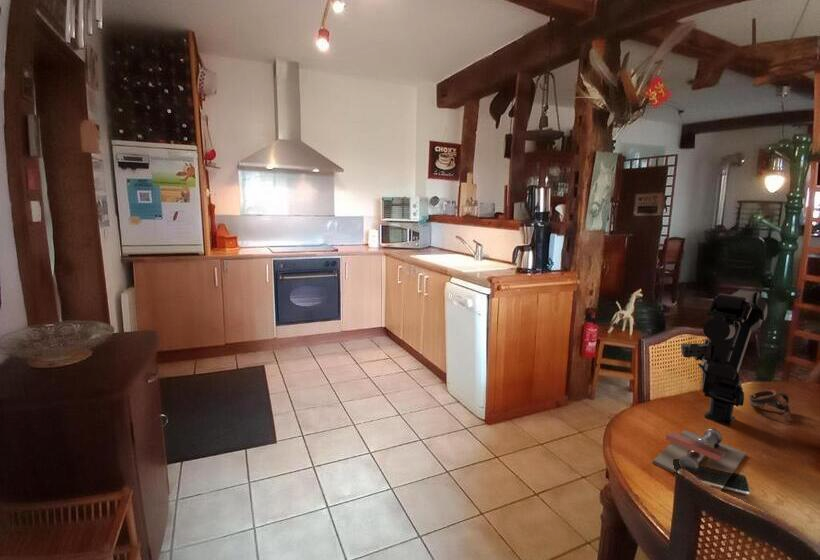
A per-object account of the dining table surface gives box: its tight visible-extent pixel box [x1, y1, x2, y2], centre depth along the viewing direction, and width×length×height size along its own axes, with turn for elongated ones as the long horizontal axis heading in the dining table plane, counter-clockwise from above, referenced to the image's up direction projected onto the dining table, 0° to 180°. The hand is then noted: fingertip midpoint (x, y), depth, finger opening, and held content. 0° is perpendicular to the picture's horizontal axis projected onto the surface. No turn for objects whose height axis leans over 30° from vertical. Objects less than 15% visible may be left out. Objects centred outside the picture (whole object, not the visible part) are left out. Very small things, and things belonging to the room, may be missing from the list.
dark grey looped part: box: [748, 389, 792, 422], centre depth 130 cm, size 12×10×8 cm
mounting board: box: [652, 429, 747, 491], centre depth 106 cm, size 23×14×1 cm, turn 130°
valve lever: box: [665, 431, 726, 461], centre depth 102 cm, size 1×11×9 cm
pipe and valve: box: [679, 428, 723, 473], centre depth 105 cm, size 20×4×4 cm, turn 130°
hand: (704, 392), depth 116 cm, fingers closed
